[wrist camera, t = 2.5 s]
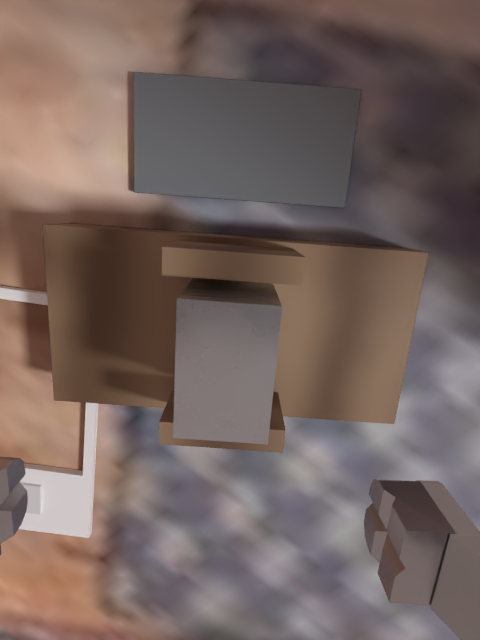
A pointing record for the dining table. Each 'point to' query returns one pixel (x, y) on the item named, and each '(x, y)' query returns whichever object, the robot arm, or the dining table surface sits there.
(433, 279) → the dining table surface
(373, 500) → the robot arm
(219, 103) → the rest mat
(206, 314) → the lever cap
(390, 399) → the brown stepped block
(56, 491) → the photo frame
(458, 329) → the dining table surface
